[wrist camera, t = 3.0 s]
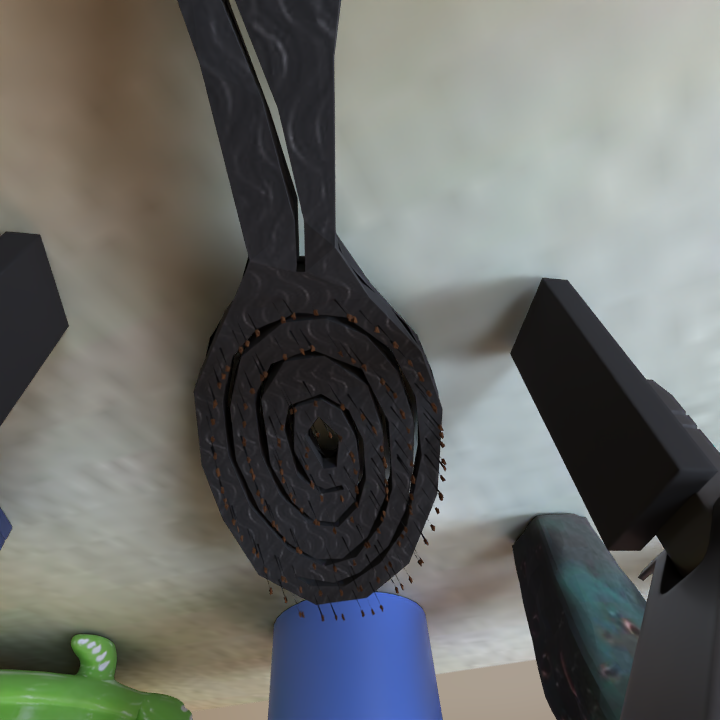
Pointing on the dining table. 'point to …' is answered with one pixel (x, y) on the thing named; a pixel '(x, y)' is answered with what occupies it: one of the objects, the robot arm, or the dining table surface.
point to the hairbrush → (305, 331)
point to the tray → (4, 528)
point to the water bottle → (353, 662)
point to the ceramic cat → (578, 616)
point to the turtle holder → (83, 691)
